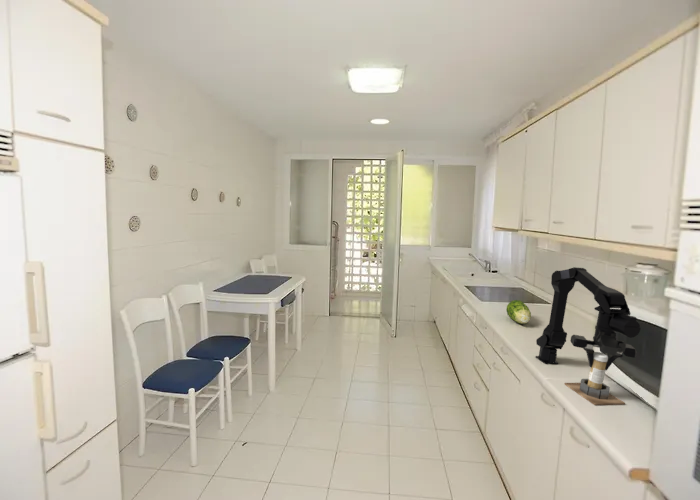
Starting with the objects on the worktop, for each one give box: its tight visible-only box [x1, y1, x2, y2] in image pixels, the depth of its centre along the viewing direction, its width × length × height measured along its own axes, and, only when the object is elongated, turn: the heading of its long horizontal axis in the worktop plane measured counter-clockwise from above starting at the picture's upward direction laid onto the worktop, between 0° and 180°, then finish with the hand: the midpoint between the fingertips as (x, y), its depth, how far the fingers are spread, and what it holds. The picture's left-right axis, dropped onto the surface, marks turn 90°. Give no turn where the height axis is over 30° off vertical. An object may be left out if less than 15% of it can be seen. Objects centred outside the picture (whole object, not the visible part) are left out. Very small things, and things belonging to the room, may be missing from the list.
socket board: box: [564, 382, 626, 406], centre depth 133 cm, size 14×12×1 cm
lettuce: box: [506, 299, 532, 324], centre depth 210 cm, size 12×21×11 cm, turn 171°
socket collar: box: [579, 378, 611, 399], centre depth 133 cm, size 9×9×3 cm
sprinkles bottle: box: [588, 351, 608, 390], centre depth 132 cm, size 5×5×14 cm
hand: (598, 368), depth 132 cm, fingers closed on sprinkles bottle, 4 cm apart
